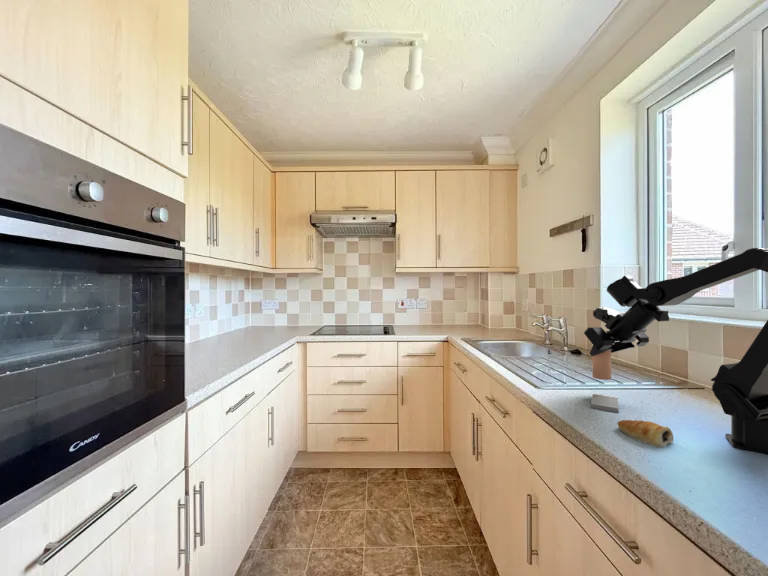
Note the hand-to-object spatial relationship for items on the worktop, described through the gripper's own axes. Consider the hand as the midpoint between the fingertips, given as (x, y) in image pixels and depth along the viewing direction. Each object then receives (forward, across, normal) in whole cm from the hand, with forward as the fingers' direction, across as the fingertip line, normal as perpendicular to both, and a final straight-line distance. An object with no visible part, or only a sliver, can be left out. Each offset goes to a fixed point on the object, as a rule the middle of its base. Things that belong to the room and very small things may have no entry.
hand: (597, 354), depth 100 cm
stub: (+4, 0, +6) cm, 7 cm away
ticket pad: (+4, +5, +13) cm, 15 cm away
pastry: (-8, +16, +26) cm, 32 cm away
